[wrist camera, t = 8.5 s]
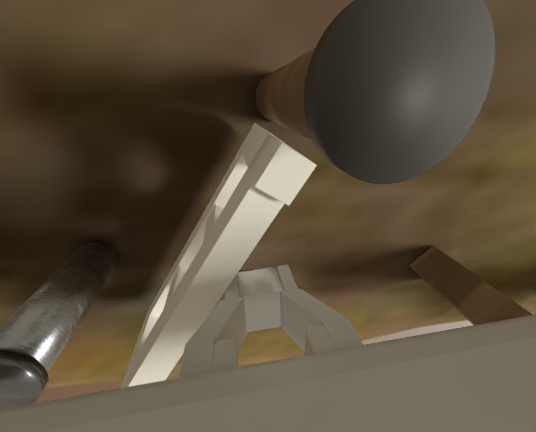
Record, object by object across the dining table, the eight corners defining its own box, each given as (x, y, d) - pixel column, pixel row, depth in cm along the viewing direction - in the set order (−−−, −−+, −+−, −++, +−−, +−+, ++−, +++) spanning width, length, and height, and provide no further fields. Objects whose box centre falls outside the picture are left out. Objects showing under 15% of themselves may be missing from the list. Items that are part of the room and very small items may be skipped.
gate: (254, 122, 12) (282, 142, 6) (274, 135, 13) (316, 165, 7) (148, 309, 16) (105, 427, 10) (166, 314, 16) (134, 431, 11)
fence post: (409, 265, 20) (530, 373, 12) (433, 245, 20) (576, 344, 12) (422, 278, 21) (543, 387, 13) (445, 260, 21) (586, 361, 13)
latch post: (65, 240, 15) (-83, 372, 8) (115, 236, 15) (17, 357, 8) (81, 278, 16) (-34, 421, 9) (127, 272, 16) (52, 405, 9)
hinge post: (247, 66, 13) (322, -41, 3) (304, 66, 13) (526, -29, 3) (251, 128, 14) (310, 190, 4) (302, 126, 14) (460, 178, 5)
